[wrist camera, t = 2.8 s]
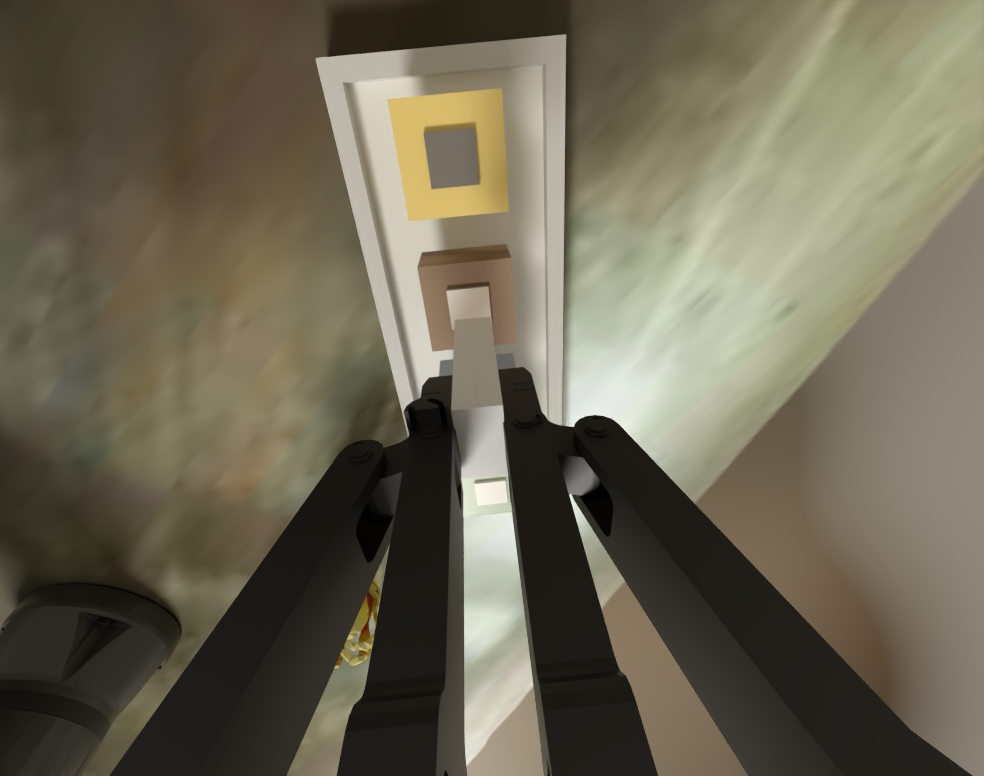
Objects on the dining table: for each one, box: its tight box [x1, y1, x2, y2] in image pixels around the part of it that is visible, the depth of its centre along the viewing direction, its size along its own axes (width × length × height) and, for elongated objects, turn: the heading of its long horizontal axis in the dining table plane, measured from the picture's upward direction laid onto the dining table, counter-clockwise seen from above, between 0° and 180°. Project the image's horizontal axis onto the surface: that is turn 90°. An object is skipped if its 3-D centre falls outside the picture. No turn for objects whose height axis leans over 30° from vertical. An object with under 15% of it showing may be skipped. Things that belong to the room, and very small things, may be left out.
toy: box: [334, 565, 382, 669], centre depth 32 cm, size 7×7×15 cm
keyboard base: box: [315, 34, 566, 436], centre depth 29 cm, size 12×30×2 cm, turn 5°
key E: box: [461, 473, 512, 517], centre depth 31 cm, size 5×5×3 cm
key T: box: [417, 244, 516, 352], centre depth 23 cm, size 5×5×3 cm
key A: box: [387, 88, 509, 221], centre depth 20 cm, size 5×5×3 cm
